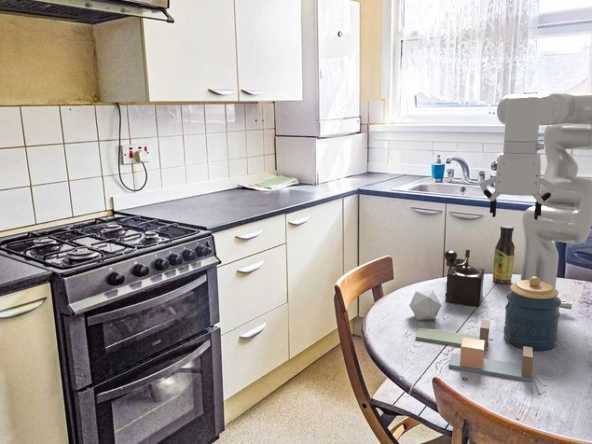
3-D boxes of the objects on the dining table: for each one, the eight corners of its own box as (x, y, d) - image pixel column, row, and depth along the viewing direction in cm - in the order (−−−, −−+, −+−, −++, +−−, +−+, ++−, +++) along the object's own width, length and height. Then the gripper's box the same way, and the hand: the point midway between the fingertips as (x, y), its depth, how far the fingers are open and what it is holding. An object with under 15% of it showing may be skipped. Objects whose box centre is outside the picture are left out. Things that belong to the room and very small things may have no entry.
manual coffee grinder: (448, 291, 172) (450, 238, 168) (483, 295, 168) (486, 242, 163) (439, 308, 158) (442, 251, 154) (477, 313, 154) (481, 255, 150)
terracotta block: (483, 359, 126) (484, 340, 125) (482, 369, 122) (483, 349, 120) (462, 355, 128) (463, 337, 127) (459, 365, 123) (461, 346, 122)
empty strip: (488, 340, 137) (489, 320, 136) (487, 350, 132) (488, 329, 130) (419, 330, 144) (420, 310, 143) (415, 339, 139) (416, 319, 137)
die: (434, 328, 146) (450, 298, 147) (407, 313, 147) (423, 283, 148) (426, 326, 154) (442, 298, 156) (401, 311, 155) (416, 283, 156)
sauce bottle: (489, 278, 182) (492, 223, 178) (506, 277, 183) (510, 223, 178) (497, 285, 176) (501, 228, 171) (515, 284, 176) (520, 227, 172)
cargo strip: (530, 369, 123) (532, 346, 121) (530, 381, 117) (533, 358, 116) (451, 356, 130) (452, 334, 128) (448, 367, 124) (449, 345, 123)
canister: (553, 332, 141) (559, 271, 137) (560, 354, 129) (567, 288, 125) (502, 326, 145) (506, 266, 141) (503, 347, 133) (509, 282, 129)
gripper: (558, 147, 126) (552, 216, 130) (483, 146, 132) (479, 211, 136) (561, 150, 119) (553, 223, 123) (481, 149, 125) (476, 218, 130)
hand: (514, 217), depth 130 cm, fingers open, 9 cm apart
